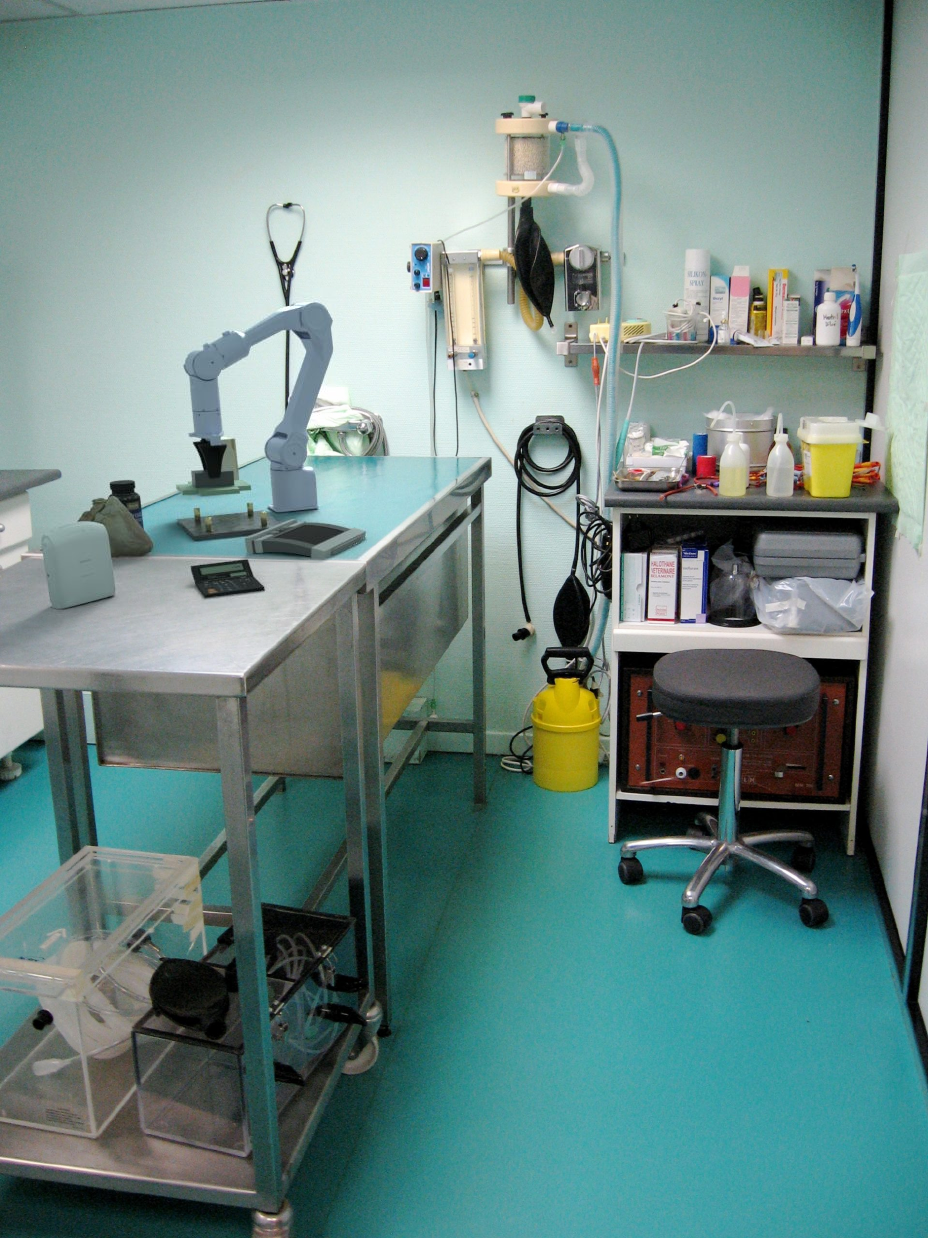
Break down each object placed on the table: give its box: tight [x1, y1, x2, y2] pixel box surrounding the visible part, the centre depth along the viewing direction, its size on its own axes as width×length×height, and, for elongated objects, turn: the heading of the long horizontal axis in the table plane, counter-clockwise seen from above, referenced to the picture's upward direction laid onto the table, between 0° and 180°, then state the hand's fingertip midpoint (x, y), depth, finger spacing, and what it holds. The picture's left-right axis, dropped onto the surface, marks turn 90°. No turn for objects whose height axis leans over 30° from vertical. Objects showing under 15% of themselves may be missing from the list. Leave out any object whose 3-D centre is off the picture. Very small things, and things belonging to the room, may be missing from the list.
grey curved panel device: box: [244, 518, 367, 560], centre depth 197 cm, size 17×5×16 cm
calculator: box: [190, 558, 266, 599], centre depth 171 cm, size 9×12×3 cm
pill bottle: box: [107, 479, 145, 530], centre depth 206 cm, size 6×6×11 cm
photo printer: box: [41, 521, 117, 610], centre depth 163 cm, size 10×4×12 cm, turn 140°
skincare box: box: [221, 436, 240, 480], centre depth 258 cm, size 6×4×12 cm
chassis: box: [177, 502, 282, 542], centre depth 214 cm, size 18×18×4 cm
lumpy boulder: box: [76, 496, 154, 557], centre depth 194 cm, size 11×11×15 cm
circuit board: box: [175, 468, 252, 497], centre depth 222 cm, size 14×14×4 cm
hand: (212, 476), depth 222 cm, fingers closed on circuit board, 4 cm apart
